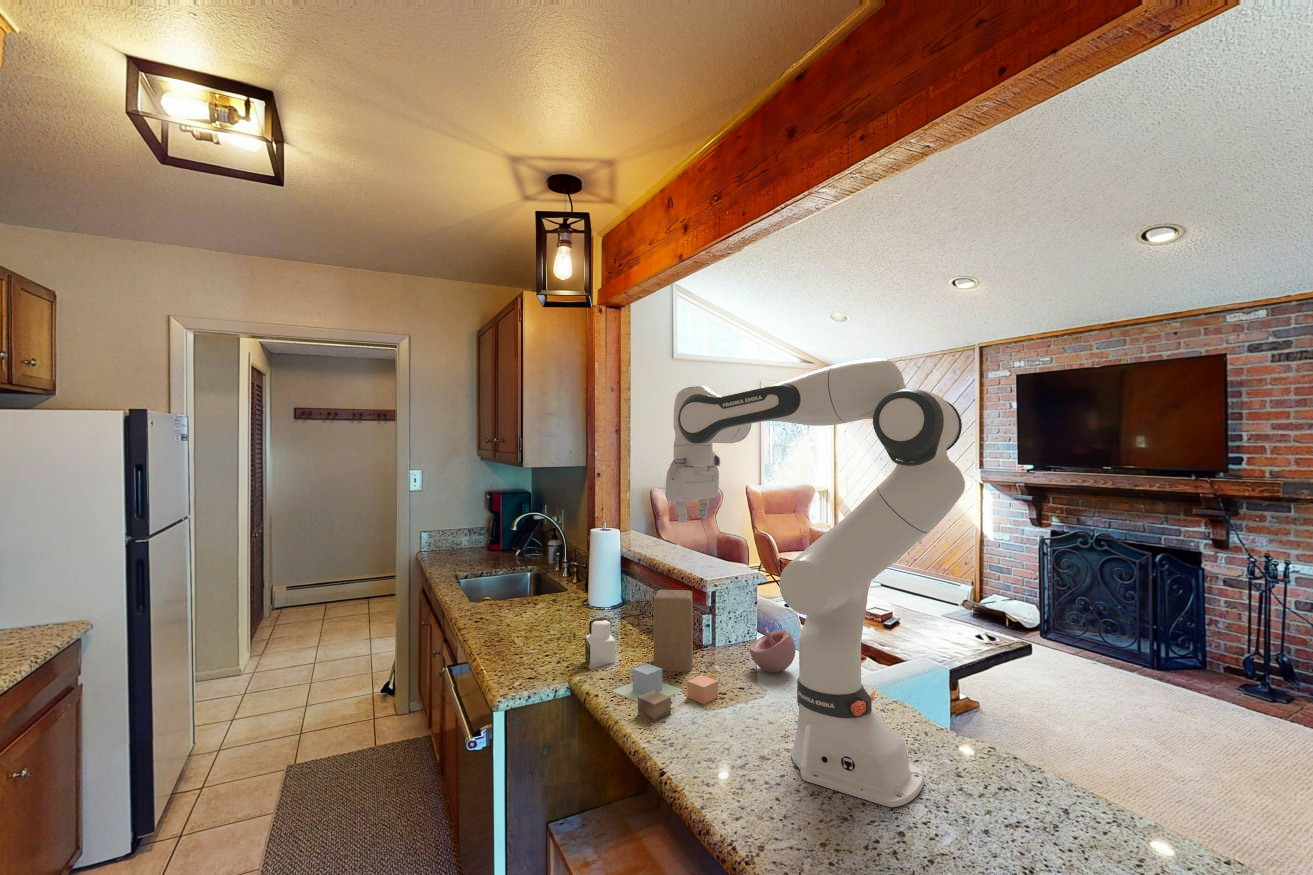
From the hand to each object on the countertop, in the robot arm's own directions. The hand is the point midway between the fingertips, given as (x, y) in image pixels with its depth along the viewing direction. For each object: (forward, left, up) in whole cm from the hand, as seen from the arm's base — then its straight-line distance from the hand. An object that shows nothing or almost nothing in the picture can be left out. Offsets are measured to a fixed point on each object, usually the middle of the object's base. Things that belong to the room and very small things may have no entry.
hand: (693, 520), depth 125 cm
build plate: (+13, +1, -42) cm, 44 cm away
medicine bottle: (+37, -5, -43) cm, 57 cm away
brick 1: (+13, +1, -41) cm, 43 cm away
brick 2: (+3, +9, -42) cm, 44 cm away
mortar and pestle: (0, -33, -43) cm, 54 cm away
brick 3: (+1, -5, -42) cm, 43 cm away
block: (+20, -16, -43) cm, 50 cm away
